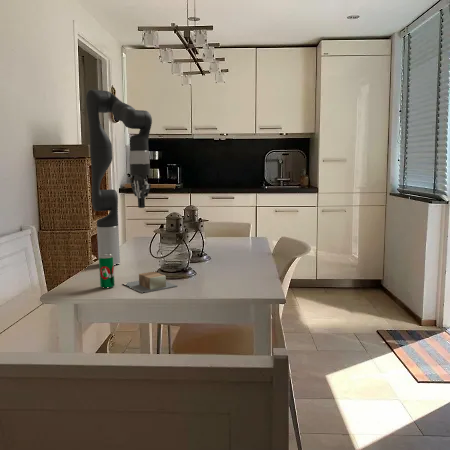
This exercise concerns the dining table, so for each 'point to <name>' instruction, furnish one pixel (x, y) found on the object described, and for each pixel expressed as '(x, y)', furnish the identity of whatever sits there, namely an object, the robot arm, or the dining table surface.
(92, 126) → the robot arm
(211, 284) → the dining table surface
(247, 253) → the dining table surface
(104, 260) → the soda can
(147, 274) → the block
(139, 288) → the mat
